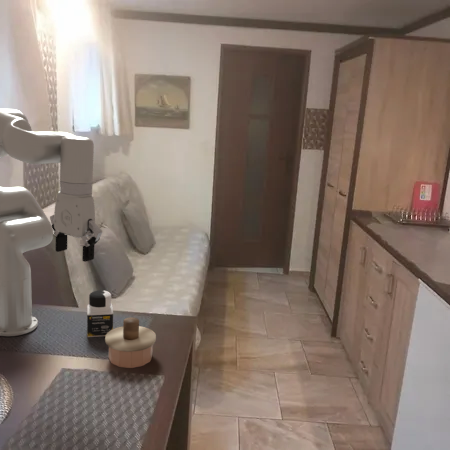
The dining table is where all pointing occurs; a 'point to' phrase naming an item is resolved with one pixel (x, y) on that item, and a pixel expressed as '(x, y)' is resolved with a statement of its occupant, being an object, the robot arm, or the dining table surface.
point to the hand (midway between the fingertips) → (74, 255)
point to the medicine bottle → (99, 314)
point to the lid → (130, 336)
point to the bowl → (130, 357)
